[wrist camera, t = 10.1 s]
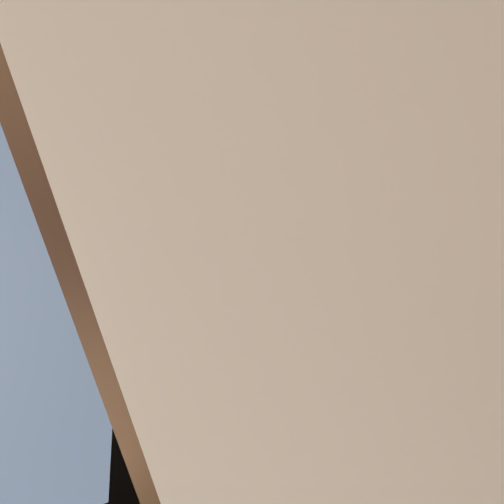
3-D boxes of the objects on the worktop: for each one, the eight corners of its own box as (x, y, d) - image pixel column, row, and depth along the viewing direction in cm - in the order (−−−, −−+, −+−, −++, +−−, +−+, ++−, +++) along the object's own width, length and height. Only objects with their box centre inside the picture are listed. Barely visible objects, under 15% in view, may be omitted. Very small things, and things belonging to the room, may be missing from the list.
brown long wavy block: (-13, -93, 6) (-156, -307, 3) (370, -138, 7) (555, -332, 4) (254, 725, 13) (296, 927, 10) (437, 639, 14) (529, 796, 11)
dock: (-178, -2, 14) (-284, -43, 11) (387, -83, 18) (454, -133, 14) (68, 537, 22) (57, 622, 19) (424, 407, 26) (474, 455, 22)
